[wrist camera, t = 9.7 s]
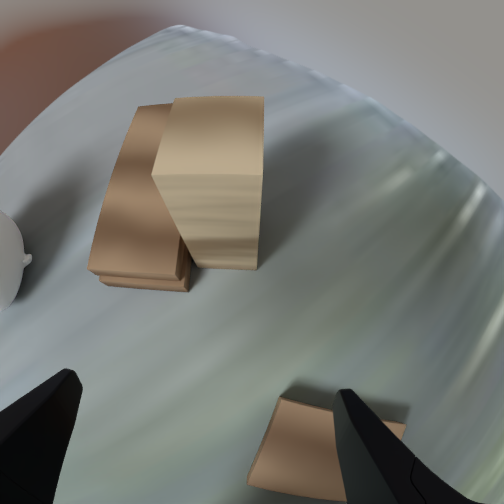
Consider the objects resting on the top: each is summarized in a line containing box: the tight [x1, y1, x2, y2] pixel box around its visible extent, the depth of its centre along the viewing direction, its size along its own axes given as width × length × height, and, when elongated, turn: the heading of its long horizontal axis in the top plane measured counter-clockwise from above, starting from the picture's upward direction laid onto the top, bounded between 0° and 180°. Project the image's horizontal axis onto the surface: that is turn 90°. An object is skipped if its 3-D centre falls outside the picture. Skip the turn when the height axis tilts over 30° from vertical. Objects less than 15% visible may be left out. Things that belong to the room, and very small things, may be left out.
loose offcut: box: [247, 396, 406, 502], centre depth 16 cm, size 7×10×2 cm
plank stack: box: [87, 103, 192, 292], centre depth 23 cm, size 17×7×3 cm, turn 178°
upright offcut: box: [151, 96, 264, 270], centre depth 17 cm, size 5×4×12 cm
